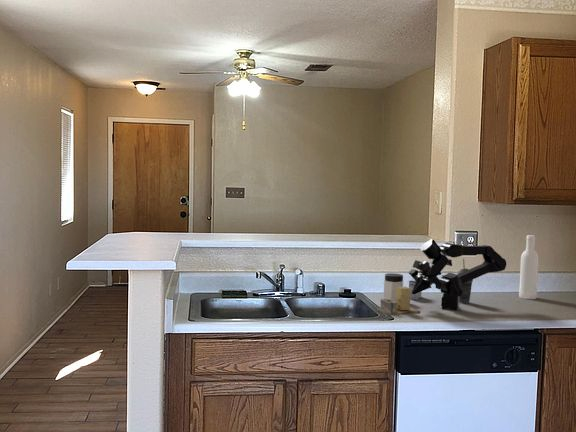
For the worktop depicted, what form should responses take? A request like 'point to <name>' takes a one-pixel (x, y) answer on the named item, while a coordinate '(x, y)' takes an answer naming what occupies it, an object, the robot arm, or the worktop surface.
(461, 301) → the beverage cup
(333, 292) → the worktop surface
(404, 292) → the tan rectangular block
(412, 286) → the medicine box
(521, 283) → the bottle
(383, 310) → the board
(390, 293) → the lidded container
